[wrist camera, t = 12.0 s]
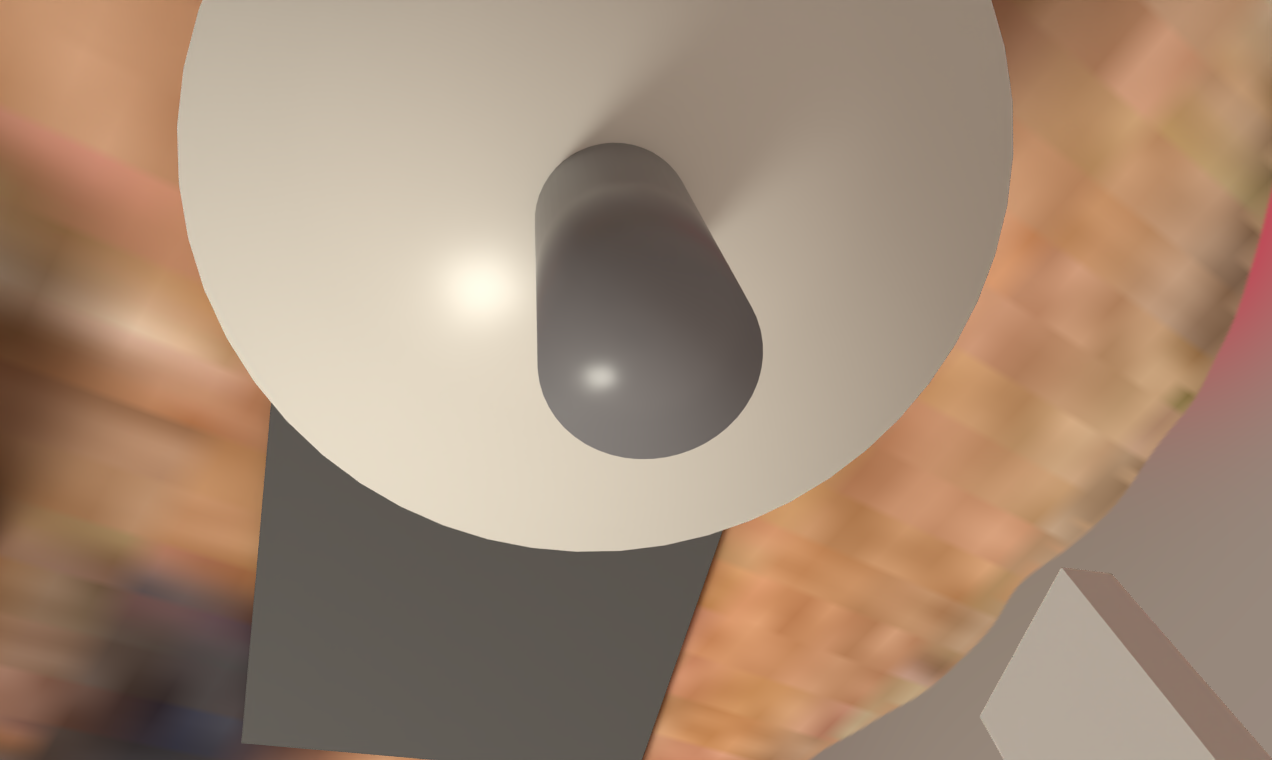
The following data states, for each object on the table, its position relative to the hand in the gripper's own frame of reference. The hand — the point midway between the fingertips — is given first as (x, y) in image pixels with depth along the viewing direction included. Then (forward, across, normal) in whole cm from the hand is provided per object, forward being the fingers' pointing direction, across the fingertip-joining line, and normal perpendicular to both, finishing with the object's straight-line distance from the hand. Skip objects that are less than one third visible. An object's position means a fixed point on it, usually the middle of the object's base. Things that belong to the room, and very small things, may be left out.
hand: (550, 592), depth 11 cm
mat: (+28, +2, -25) cm, 38 cm away
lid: (+17, +2, 0) cm, 17 cm away
